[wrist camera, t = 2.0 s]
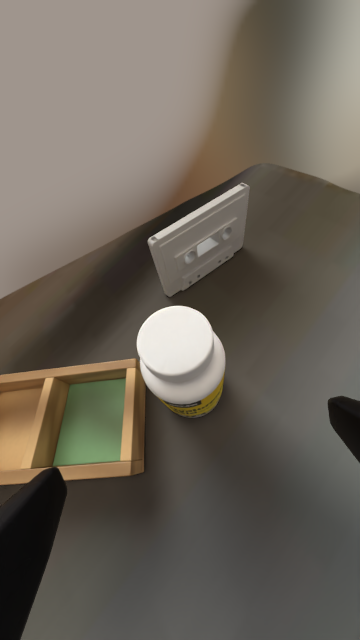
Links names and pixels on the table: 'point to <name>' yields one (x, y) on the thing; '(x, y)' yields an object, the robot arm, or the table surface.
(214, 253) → the cassette
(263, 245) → the table surface
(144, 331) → the supplement bottle
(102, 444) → the tray
